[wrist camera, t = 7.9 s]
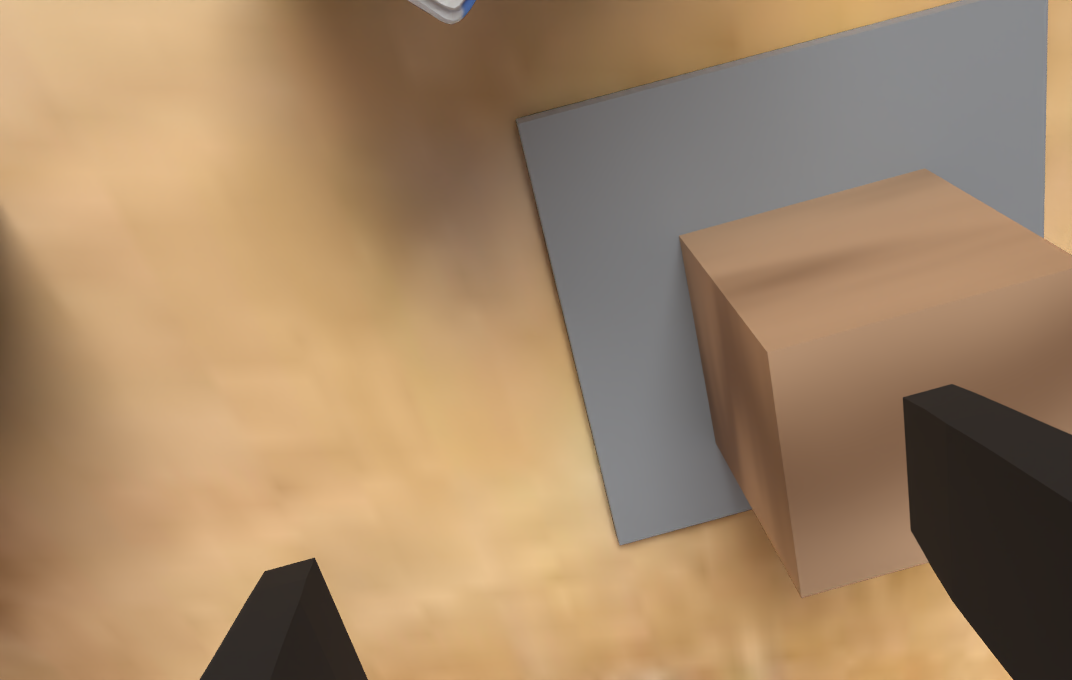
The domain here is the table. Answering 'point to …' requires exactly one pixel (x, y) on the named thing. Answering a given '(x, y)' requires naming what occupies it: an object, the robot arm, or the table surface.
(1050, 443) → the robot arm
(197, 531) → the table surface
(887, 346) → the walnut cube
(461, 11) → the medicine box
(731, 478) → the mat
